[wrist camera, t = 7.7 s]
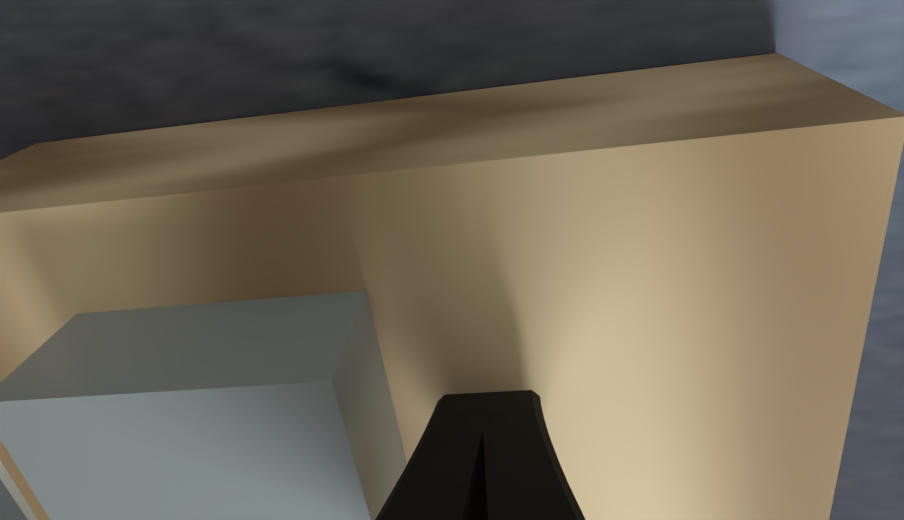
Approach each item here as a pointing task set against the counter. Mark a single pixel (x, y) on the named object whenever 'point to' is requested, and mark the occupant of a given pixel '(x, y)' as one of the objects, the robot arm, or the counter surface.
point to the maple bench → (521, 260)
